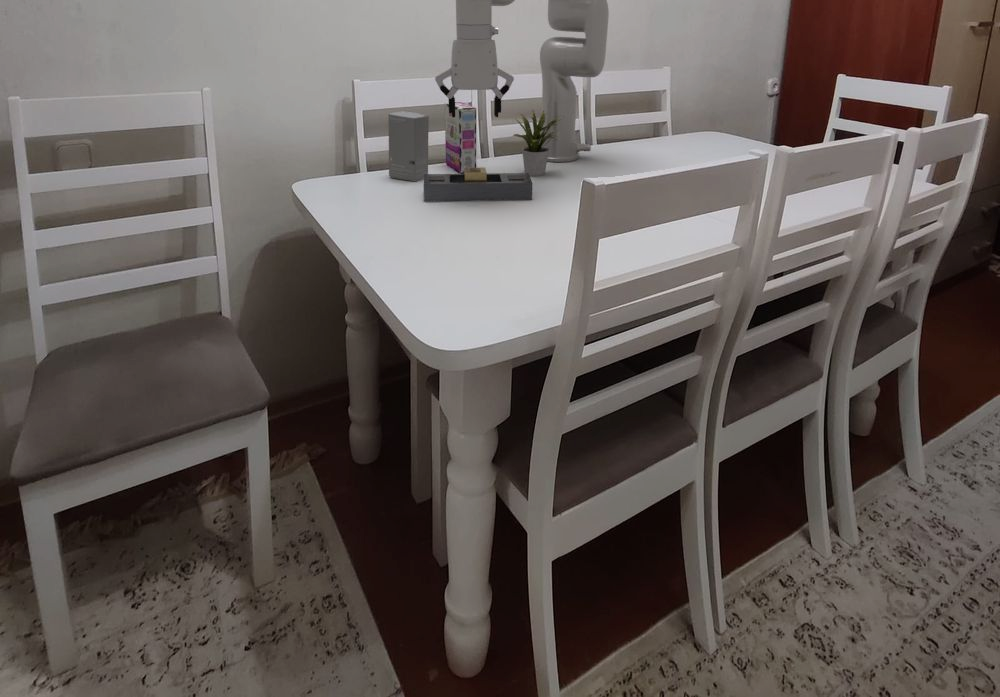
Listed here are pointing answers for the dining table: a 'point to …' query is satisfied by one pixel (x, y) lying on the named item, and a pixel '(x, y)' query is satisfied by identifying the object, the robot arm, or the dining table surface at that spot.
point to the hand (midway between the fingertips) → (475, 116)
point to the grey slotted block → (477, 187)
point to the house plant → (536, 145)
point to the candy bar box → (460, 137)
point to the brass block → (475, 175)
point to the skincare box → (408, 145)
